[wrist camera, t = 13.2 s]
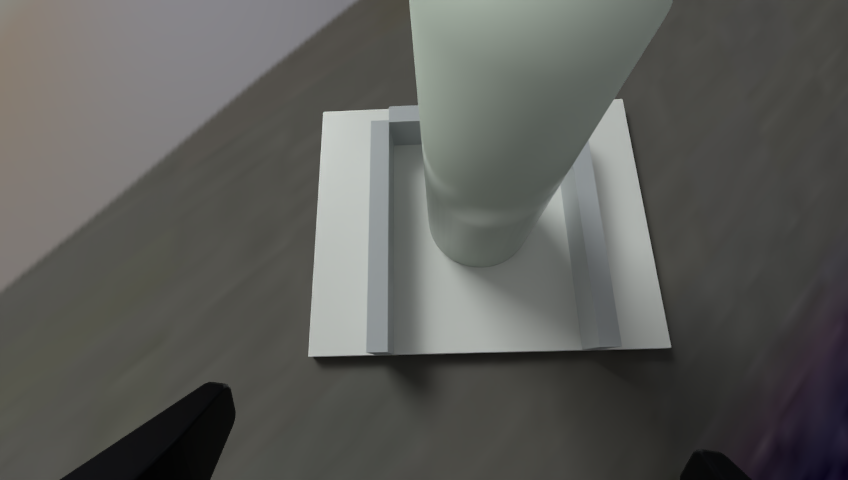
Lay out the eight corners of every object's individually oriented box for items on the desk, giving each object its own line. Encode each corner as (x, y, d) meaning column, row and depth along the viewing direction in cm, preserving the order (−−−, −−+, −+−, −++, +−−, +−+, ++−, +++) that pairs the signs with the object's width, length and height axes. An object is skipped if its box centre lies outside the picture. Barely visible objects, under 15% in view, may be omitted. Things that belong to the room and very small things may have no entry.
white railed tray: (663, 348, 18) (700, 344, 15) (312, 357, 18) (291, 354, 16) (617, 106, 21) (640, 71, 19) (326, 118, 22) (311, 86, 19)
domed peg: (534, 265, 18) (704, 67, 6) (429, 269, 18) (407, 79, 7) (524, 171, 20) (649, -135, 8) (427, 175, 20) (405, -121, 8)
